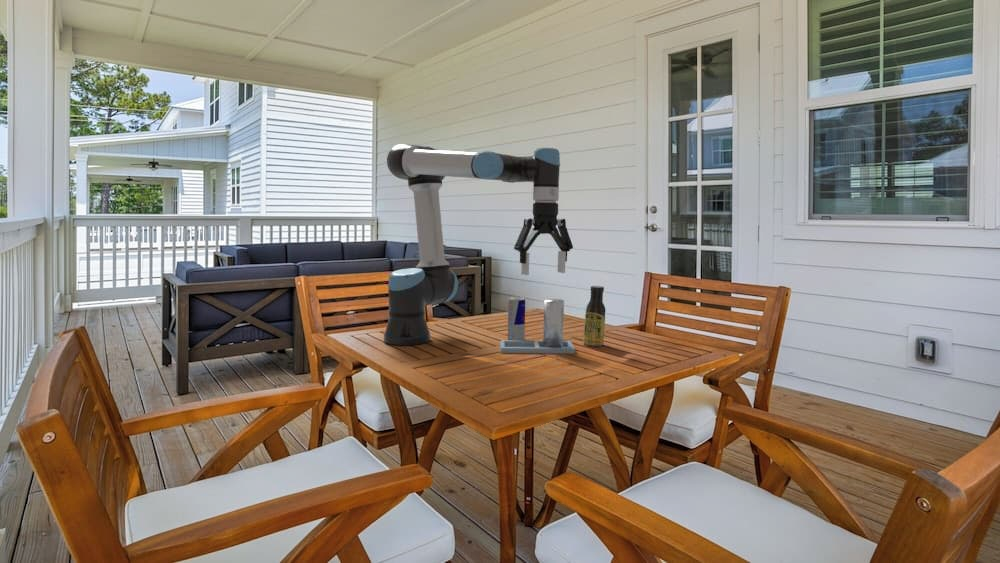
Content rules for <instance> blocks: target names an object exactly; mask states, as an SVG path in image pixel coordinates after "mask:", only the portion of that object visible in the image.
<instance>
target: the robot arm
mask: <svg viewBox="0 0 1000 563" xmlns="http://www.w3.org/2000/svg"><path fill="white" fill-rule="evenodd" d="M560 154H561V153H560V151H559V149H557V148H554V147H539V148H535V149H534V152H533V155H531V156H518V155H517V156H515V155H510V154H509V155H508V154H503V153H496V152H494V151H488V150H486V151H481V152H480V151H458V150H438V149H436V148H433V147H430V146H423V145H416V144H410V143H399V144H396V145H395V146H393V147H392V148H390V150H389V152H388V154H387V157H386V165H387V166H386V167H388V170H389V172H390V173H391V175H393V176H394V177H395V178H398V179H401V180H404V181H405V180H406V181H407V183H408V184H407V186H408V189H409V190H411V191H412V193H413V199H414V200H413V202H414V209H415V222H416V232H417V242H418V243H417V244H418V245H417V246H418V253H419V262H418V264H417V265H416V266H415V267H411V268H410V267H409V268H403V269H402V268H401V269H398V270H394V271H392V272H391V273H390V274H389V276H388V284H387V288H388V289H387V290H388V291H387V292H388V321H387V323H386V328H385V331H384V333H383V342H384V343H386V344H389V345H395V346H415V345H422V344H425V343H428V342H430V340H431V331H429V327H428V323H427V320H426V317H425V316H426V313H425V311H426V310H425V308H426V307H425V306H431V305H436V304H437V305H438V304H443V303H447V302H448V301H450V300H452V299H453V298H454V296H455V295H456V293H457V291H458V287H459V279H458V277H457V274H455V271H453V270H452V269H451V266H450V263H449V262H448V260H446V259H445V248H444V247H445V246H444V236H443V235H444V234H443V224H442V214H441V202H440V193H439V192H440V191H439V190H440V189H441V188H442V187H443V180H444V179H445V178H446V177H451V178H452V177H453V178H465V179H467V178H468V179H469V178H470V179H478V180H479V179H480V180H489V181H490V180H492V181H501V182H503V183H510V184H511V183H533V186H532V188H533V189H532V201H534V202H533V203H532V214H533V219H532V218H527V217H525V218H524V219H523V225H522V229H521V231H520V233H519V235H518V238H517V239H516V242H515V244H514V247H513V249H514V250H515V251H517V252H518V253H519V263H520V264H521V274H520V275H523V276H529V275H530V252H528V251H529V249H530V248H531V247H532V246H533V244H534V242H535V241H536V240H537V238H538V237H539V236H540V235H545V234H546V235H547V234H548V235H550V236H551V237H552V239H553V240H554V242H555V244H556V245H557V246H558V248H559V250H558V251H557V252H558V253H557V273H561V274H565V273H566V262H567V261H568V252H570V251H571V250H572V249H573V248H574V246H573V243H572V240H571V237H570V234H569V232H568V228H567V223H566V218H558V217H557V216H558V215H559V203H558V202H559V196H560V195H559V192H560V184H559V182H560V169H561V168H560V166H561V160H560V159H561V158H560V157H561V156H560ZM532 226H533V228H532Z"/></svg>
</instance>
